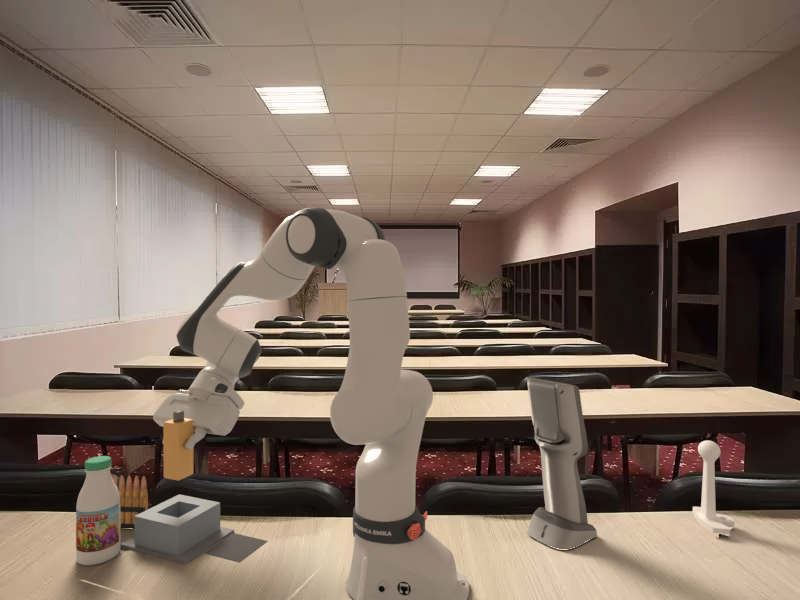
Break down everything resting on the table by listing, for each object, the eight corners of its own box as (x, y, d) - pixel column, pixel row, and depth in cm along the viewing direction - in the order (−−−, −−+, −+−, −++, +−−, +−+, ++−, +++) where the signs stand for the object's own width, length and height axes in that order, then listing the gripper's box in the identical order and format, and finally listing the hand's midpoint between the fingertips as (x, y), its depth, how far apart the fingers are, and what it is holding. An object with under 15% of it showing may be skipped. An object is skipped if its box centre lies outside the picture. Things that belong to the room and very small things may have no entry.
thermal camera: (519, 532, 111) (520, 377, 110) (554, 517, 118) (556, 372, 118) (563, 555, 101) (565, 386, 101) (599, 537, 109) (601, 379, 108)
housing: (234, 533, 110) (234, 503, 110) (185, 565, 97) (185, 531, 97) (173, 519, 117) (172, 490, 116) (120, 547, 104) (119, 515, 103)
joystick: (687, 515, 120) (688, 433, 119) (721, 517, 118) (722, 435, 118) (708, 537, 109) (709, 447, 108) (746, 540, 107) (747, 449, 107)
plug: (193, 473, 108) (193, 410, 107) (178, 480, 104) (178, 414, 104) (178, 470, 109) (178, 408, 109) (163, 477, 105) (163, 412, 105)
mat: (267, 542, 106) (267, 540, 106) (239, 563, 98) (239, 562, 98) (234, 534, 109) (234, 533, 109) (204, 554, 101) (204, 553, 101)
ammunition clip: (150, 526, 113) (150, 474, 113) (145, 530, 111) (145, 477, 111) (105, 524, 114) (105, 473, 114) (100, 528, 112) (100, 476, 112)
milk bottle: (79, 551, 102) (79, 455, 102) (122, 543, 105) (121, 450, 105) (73, 570, 95) (72, 467, 95) (118, 561, 98) (118, 462, 98)
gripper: (168, 381, 116) (132, 433, 108) (237, 388, 109) (205, 445, 100) (182, 396, 121) (149, 447, 112) (250, 404, 113) (220, 459, 104)
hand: (176, 446), depth 106 cm, fingers closed on plug, 4 cm apart
